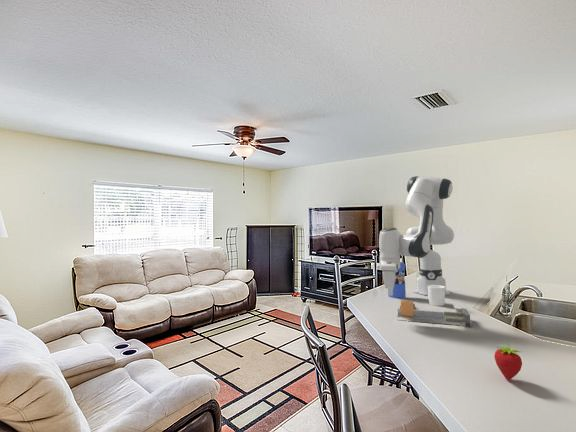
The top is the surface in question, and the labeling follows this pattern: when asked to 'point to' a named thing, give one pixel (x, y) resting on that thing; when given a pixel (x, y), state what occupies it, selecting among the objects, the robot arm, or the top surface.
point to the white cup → (436, 295)
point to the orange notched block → (407, 308)
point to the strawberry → (508, 362)
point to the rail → (441, 316)
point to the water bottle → (399, 283)
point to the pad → (413, 306)
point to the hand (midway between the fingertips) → (390, 295)
